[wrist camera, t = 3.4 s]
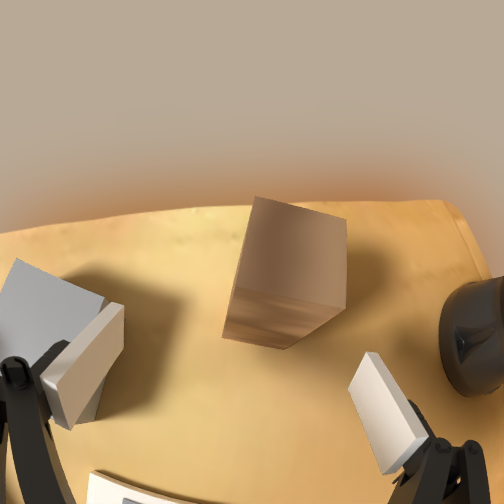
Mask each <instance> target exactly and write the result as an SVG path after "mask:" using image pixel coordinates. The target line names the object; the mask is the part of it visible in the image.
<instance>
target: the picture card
mask: <svg viewBox="0 0 504 504" xmlns="http://www.w3.org/2000/svg"><path fill="white" fill-rule="evenodd" d="M87 504H197V503H192V502H187V501H183V500H179V499H175V498H171V497H167V496H164V495H160V494H157V493H153V492H150V491H147V490H144V489H141V488H138V487H135V486H132V485H129V484H126V483H124V482H121V481H118V480H116V479H113V478H111V477H109V476H106V475H104V474H101V473H99V472H97V471H95V470H94V471H92V472H90V477H89V485H88V494H87Z"/></svg>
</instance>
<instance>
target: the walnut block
mask: <svg viewBox="0 0 504 504" xmlns="http://www.w3.org/2000/svg"><path fill="white" fill-rule="evenodd" d="M346 287H347V229H346V219H343V218H339V217H335V216H332V215H328V214H324V213H321V212H317V211H313V210H309V209H306V208H302V207H298V206H294V205H290V204H286V203H281V202H277V201H274V200H269V199H265V198H261V197H256V196H255V198H254V202H253V206H252V210H251V214H250V218H249V222H248V226H247V230H246V234H245V238H244V242H243V246H242V250H241V254H240V258H239V262H238V266H237V270H236V274H235V278H234V283H233V287H232V292H231V297H230V301H229V306H228V311H227V315H226V320H225V325H224V329H223V334H222V338H226V339H231V340H235V341H240V342H245V343H250V344H255V345H261V346H266V347H272V348H277V349H283V350H284V349H286V348H287V347H289V346H291V345H292V344H294V343H295V342H297V341H298V340H300V339H302V338H303V337H305V336H306V335H308V334H309V333H311V332H312V331H314V330H315V329H317V328H318V327H320V326H321V325H323V324H324V323H326V322H327V321H329V320H330V319H332V318H333V317H335V316H336V315H337V314H339V313H340V312H342V311H343V310H344V309H346Z"/></svg>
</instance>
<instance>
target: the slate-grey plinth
mask: <svg viewBox="0 0 504 504" xmlns="http://www.w3.org/2000/svg"><path fill="white" fill-rule="evenodd" d="M109 304H110V302H109V301H108V300H107V299H106V298H105V297H103V296H100V295H98V294H95V293H93V292H90V291H88V290H85V289H83V288H81V287H78V286H76V285H74V284H71V283H69V282H67V281H64V280H62V279H60V278H58V277H55V276H53V275H51V274H49V273H47V272H44V271H42V270H40V269H38V268H36V267H34V266H32V265H30V264H28V263H26V262H24V261H22V260H20V259H18V258H16V260H15V262H14V264H13V266H12V268H11V270H10V272H9V274H8V276H7V279H6V281H5V283H4V286H3V288H2V290H1V293H0V363H1V362H2V361H3V360H4V359H6V358H7V357H11V356H19V357H22V358H24V359H25V360H26V361H27V362H28V364H29V367H31V366H32V365H33V364H34V363H35V362H36V361H37V360H38V359H39V358H40V357H41V356H43V354H44V353H45V352H46V351H48V349H49V348H50V347H51V346H52V345H53V344H54V343H56V342H59V341H61V340H63V339H64V340H66V341H68V342H72V341H73V340H74V339H75V338H76V337H77V336H78V334H79V333H80V332H81V331H82V330H83V329H84V328H85V327H86V326H87V325H88V324H89V323H90V322H91V321H92V320H93V319H94V318H95V317H96V316H97V315H98V314H99V313H100V312H101V311H102V310H103V309H104V308H105V307H106V306H107V305H109ZM124 322H125V318H124ZM107 373H108V372H107ZM0 376H2V374H1V371H0ZM106 376H107V374H106V375H105V377H104V378H103V380H102V381H101V383H100V384H99V386H98V388H97V389H96V391H95V392H94V394H93V395H92V397H91V398H90V400H89V402H88V403H87V405H86V406H85V408H84V410H83V411H82V413H81V414H80V416H79V418H78V419H77V421H76V423H75V424H82V423H88V422H94V420H95V416H96V412H97V408H98V404H99V401H100V397H101V393H102V390H103V386H104V383H105V380H106ZM50 418H51V419H53V416H51V417H50ZM53 420H54V419H53ZM75 424H74V425H75Z"/></svg>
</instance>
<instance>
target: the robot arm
mask: <svg viewBox="0 0 504 504" xmlns="http://www.w3.org/2000/svg"><path fill="white" fill-rule="evenodd" d="M439 345H440V353H441V358H442V362H443V366H444V369H445V372H446V374H447V376H448V378H449V380H450V382H451V384H452V385H453V386H454V388H455V389H456V390H457V391H458V392H459V393H460V394H462V395H464V396H466V397H471V398H473V397H479V396H484V395H488V394H490V393H492V392H494V391H495V390H496V389H498V388H499V387H500V386H501V385H502V384H504V276H502V277H498V278H494V279H489V280H484V281H480V282H470V283H468V284H465V285H464V286H462V287H460V288H459V289H457V290H456V291H454V292H453V293H452V294H451V295H450V296H449V297H448V298H447V300H446V302H445V304H444V306H443V309H442V313H441V317H440V325H439ZM123 348H124V305H121V304H118V303H114V302H111V303H110V304H109V305H107V306H106V307H105V308H104V309H103V310H102V311H101V312H100V313H99V314H98V315H97V316H96V317H95V318H94V319H93V320H92V321H91V322H90V323H89V324H88V325H87V326H86V327H85V328H84V329H83V330H82V331H81V332H80V333H79V334H78V336H77V337H76V338H75V339H74V340H73V341H72V342H68V341H66V340H64V339H63V340H61V341H59V342H56V343H54V344H53V345H52V346H51V347H50V348H49V349H48V351H46V352H45V353H44V354H43V356H41V357H40V358H39V359H38V360H37V361H36V362H35V363H34V364H33V365H32V366H31V367H29V364H28V362H27V361H26V360H25V359H24V358H22V357H19V356H11V357H7V358H6V359H4V360H3V361H2V362H1V363H0V371H1V374H2V376H0V504H6V496H5V471H6V453H7V442H8V433H9V436H10V443H11V449H12V455H13V460H14V465H15V469H16V473H17V478H18V482H19V485H20V489H21V493H22V496H23V499H24V502H25V504H76V502H75V499H74V497H73V495H72V492H71V490H70V487H69V485H68V482H67V480H66V477H65V474H64V471H63V469H62V466H61V463H60V460H59V457H58V453H57V450H56V447H55V443H54V440H53V436H52V432H51V428H50V424H49V422H48V420H49V419H50V417H51V416H53V419H54V421H55V423H56V424H58V425H60V426H62V427H63V428H66V429H68V430H70V431H71V429H72V428H73V426H74V424H75V423H76V421H77V419H78V418H79V416H80V414H81V413H82V411H83V410H84V408H85V406H86V405H87V403H88V402H89V400H90V398H91V397H92V395H93V394H94V392H95V391H96V389H97V388H98V386H99V384H100V383H101V381H102V380H103V378H104V377H105V375H106V374H107V372H108V371H109V369H110V368H111V366H112V365H113V363H114V362H115V360H116V359H117V357H118V356H119V354H120V353H121V351H122V350H123ZM348 390H349V393H350V395H351V398H352V400H353V402H354V405H355V407H356V410H357V412H358V415H359V417H360V420H361V422H362V425H363V427H364V430H365V432H366V435H367V437H368V440H369V442H370V445H371V447H372V450H373V453H374V455H375V458H376V460H377V463H378V466H379V468H380V471H381V474H382V475H387V474H392V473H396V472H397V471H398V470H399V469H400V468H401V467H402V466H403V468H404V471H403V472H402V473H401V474H400V475H399V476H398V477H397V478H396V479H395V480H394V481H393V483H392V484H394V483H396V482H397V481H398V482H397V485H396V487H395V489H394V491H393V494H392V496H391V498H390V500H389V502H388V504H491V501H490V492H489V484H488V477H487V471H486V465H485V459H484V454H483V450H482V447H481V446H480V444H479V443H478V442H476V441H473V440H468V441H466V442H465V443H464V444H463V445H462V447H452V445H451V444H450V443H449V442H448V441H447V440H446V439H444V438H436V436H435V435H434V433H433V431H432V430H431V428H430V426H429V425H428V423H427V421H426V420H425V419H424V417H423V415H422V414H421V412H420V410H419V409H418V407H417V406H416V405H415V404H414V403H413V402H412V401H411V400H407V399H406V397H405V395H404V394H403V392H402V391H401V389H400V387H399V386H398V384H397V383H396V381H395V380H394V378H393V376H392V375H391V373H390V372H389V370H388V369H387V367H386V365H385V364H384V362H383V361H382V359H381V358H380V356H379V355H378V353H374V352H366V353H365V355H364V357H363V359H362V361H361V363H360V365H359V368H358V370H357V372H356V373H355V375H354V377H353V379H352V381H351V383H350V385H349V387H348ZM459 478H460V479H461V481H460V483H458V484H457V480H458V479H459Z"/></svg>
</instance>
